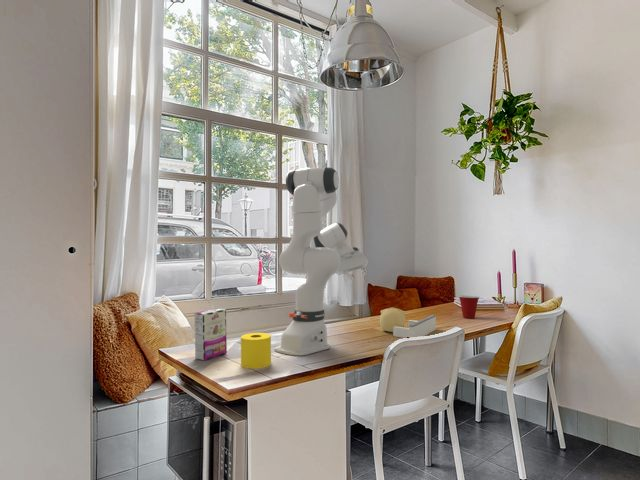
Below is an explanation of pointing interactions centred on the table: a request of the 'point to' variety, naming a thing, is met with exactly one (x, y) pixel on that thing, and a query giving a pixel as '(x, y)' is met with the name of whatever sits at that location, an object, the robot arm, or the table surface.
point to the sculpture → (392, 319)
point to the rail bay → (416, 328)
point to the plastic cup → (468, 306)
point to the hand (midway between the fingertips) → (359, 276)
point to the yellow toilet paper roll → (255, 350)
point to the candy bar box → (210, 334)
